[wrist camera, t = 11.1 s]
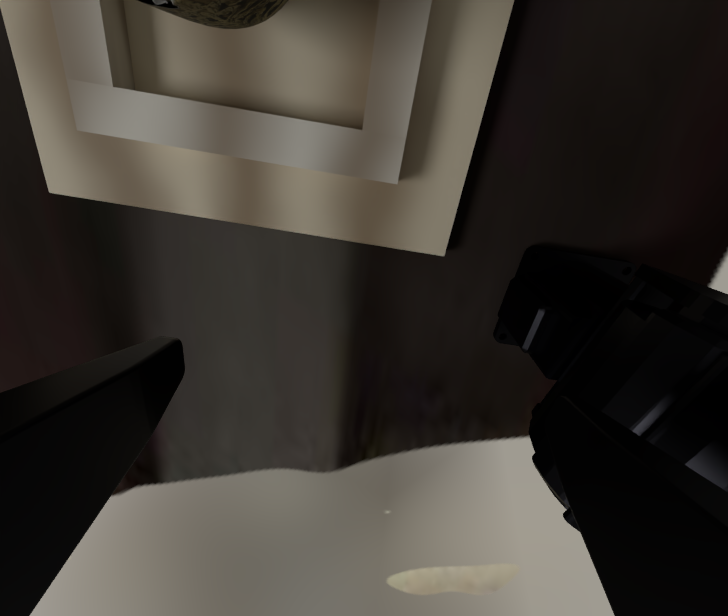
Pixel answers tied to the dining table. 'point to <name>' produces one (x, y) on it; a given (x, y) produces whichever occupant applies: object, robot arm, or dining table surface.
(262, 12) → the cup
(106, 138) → the docking plate
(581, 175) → the dining table surface
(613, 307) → the robot arm
